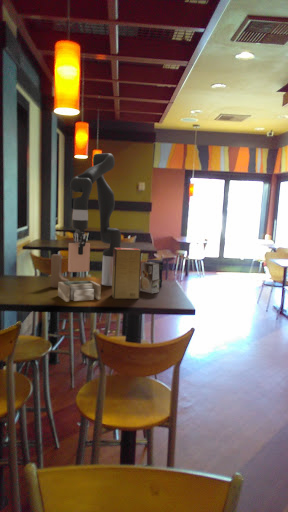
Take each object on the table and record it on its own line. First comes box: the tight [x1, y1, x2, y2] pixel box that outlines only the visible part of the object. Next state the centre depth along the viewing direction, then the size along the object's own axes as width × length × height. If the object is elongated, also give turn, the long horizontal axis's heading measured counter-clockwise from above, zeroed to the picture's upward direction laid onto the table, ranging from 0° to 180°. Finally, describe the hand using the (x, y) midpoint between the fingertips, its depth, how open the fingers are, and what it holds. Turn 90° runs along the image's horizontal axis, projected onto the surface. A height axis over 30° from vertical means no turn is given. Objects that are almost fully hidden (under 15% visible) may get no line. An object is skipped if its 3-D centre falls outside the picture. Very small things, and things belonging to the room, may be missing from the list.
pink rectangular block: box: [67, 242, 91, 273], centre depth 195 cm, size 10×3×14 cm, turn 119°
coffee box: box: [139, 261, 160, 294], centre depth 218 cm, size 9×6×16 cm
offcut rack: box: [57, 280, 102, 303], centre depth 196 cm, size 18×13×7 cm
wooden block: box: [50, 253, 70, 289], centre depth 216 cm, size 9×4×18 cm, turn 81°
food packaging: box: [111, 247, 142, 300], centre depth 201 cm, size 13×9×25 cm
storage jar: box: [146, 259, 164, 288], centre depth 235 cm, size 10×10×15 cm
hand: (79, 253), depth 195 cm, fingers closed on pink rectangular block, 3 cm apart
